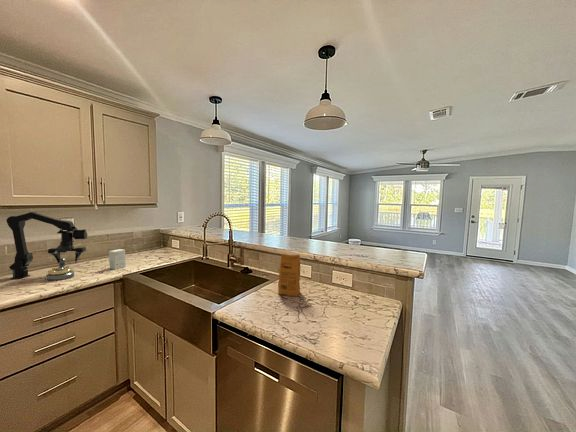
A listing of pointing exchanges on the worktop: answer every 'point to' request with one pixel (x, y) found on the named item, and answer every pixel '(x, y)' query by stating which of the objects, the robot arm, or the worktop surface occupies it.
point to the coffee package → (289, 275)
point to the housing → (59, 277)
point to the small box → (117, 259)
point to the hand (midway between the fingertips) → (67, 262)
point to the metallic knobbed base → (60, 269)
